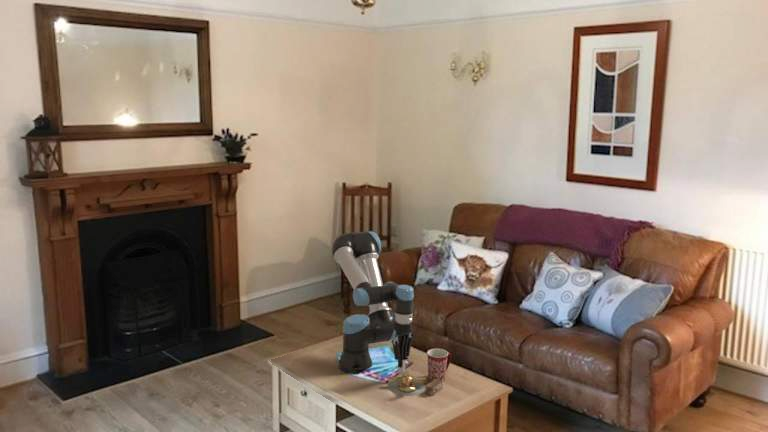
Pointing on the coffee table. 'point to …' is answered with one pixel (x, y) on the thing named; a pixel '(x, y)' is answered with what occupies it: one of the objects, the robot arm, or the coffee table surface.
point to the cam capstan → (407, 382)
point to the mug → (438, 364)
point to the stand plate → (394, 388)
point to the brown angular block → (433, 387)
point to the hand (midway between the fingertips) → (401, 373)
